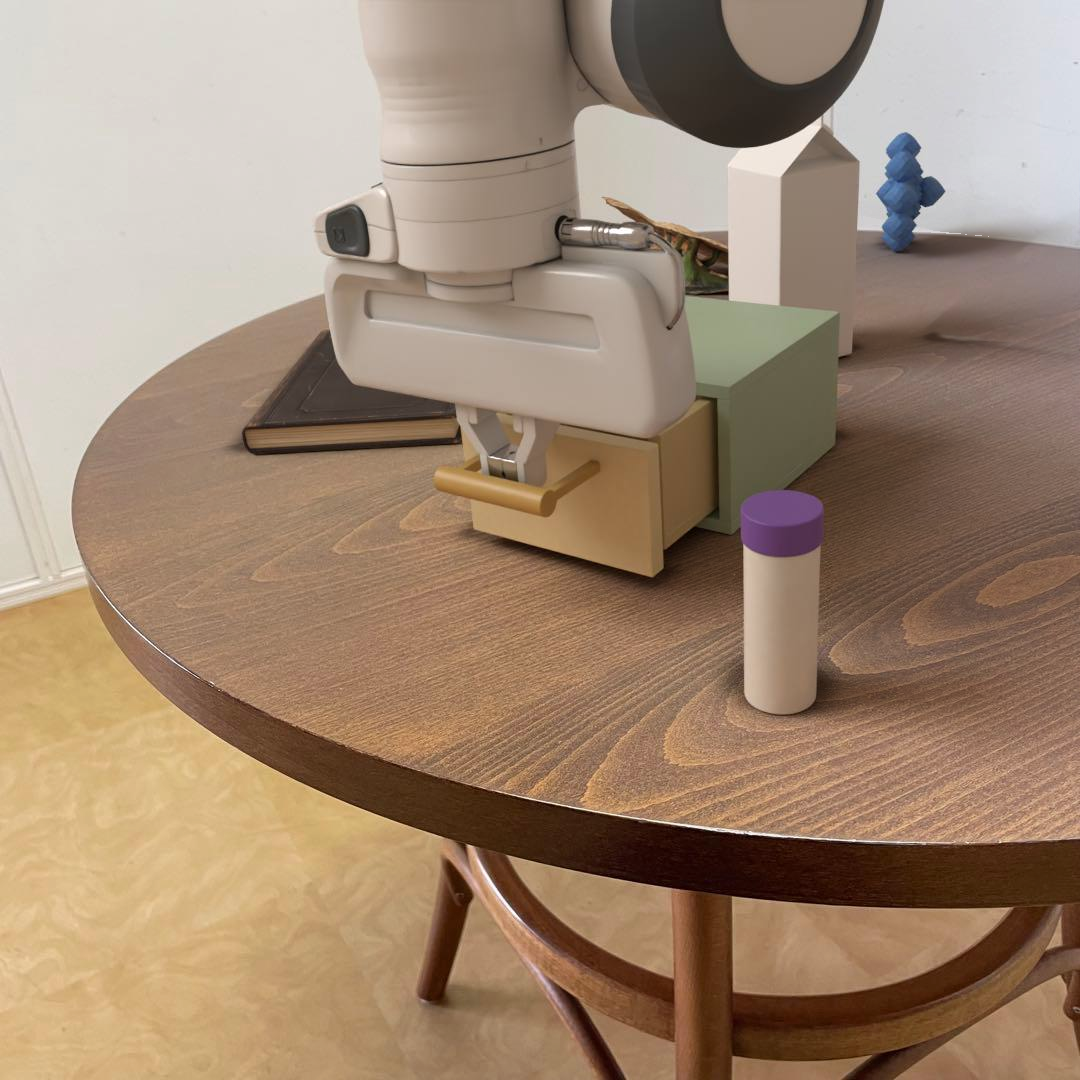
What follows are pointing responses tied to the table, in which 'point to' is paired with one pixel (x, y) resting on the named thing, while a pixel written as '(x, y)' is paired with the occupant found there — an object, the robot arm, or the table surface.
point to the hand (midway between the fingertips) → (515, 484)
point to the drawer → (601, 490)
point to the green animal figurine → (687, 251)
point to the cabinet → (764, 394)
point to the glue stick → (781, 599)
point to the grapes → (905, 191)
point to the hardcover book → (343, 412)
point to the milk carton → (795, 225)
